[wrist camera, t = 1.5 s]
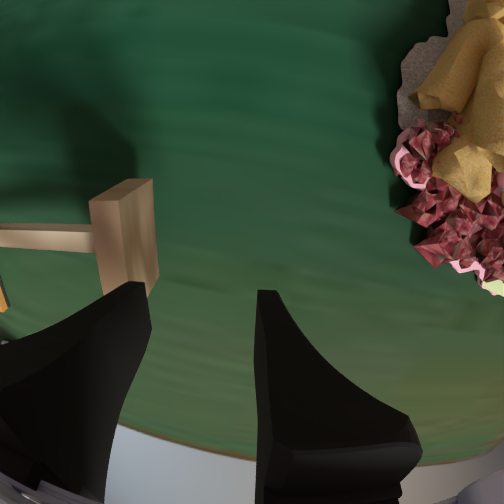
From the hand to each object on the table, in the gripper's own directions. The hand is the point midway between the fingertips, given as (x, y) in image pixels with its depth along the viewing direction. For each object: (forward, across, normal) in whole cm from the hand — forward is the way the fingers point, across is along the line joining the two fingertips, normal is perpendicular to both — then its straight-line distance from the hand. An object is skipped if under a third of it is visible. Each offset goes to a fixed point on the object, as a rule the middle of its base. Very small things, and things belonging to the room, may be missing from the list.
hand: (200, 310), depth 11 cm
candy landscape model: (+10, -22, -8) cm, 25 cm away
